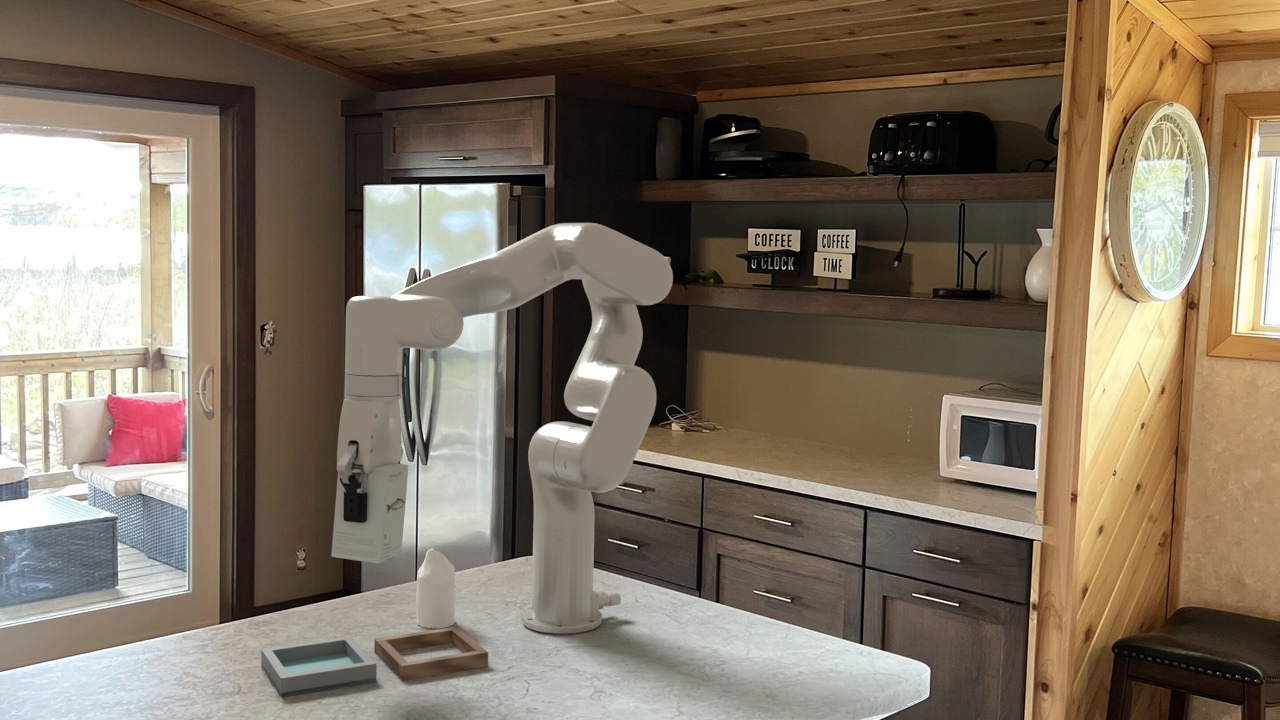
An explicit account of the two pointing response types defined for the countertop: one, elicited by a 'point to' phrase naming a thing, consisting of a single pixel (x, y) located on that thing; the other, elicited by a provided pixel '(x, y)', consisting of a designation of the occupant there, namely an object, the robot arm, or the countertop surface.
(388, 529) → the supplement box
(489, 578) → the countertop surface
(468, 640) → the wooden picture frame
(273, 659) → the dock
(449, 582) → the white rounded piece
